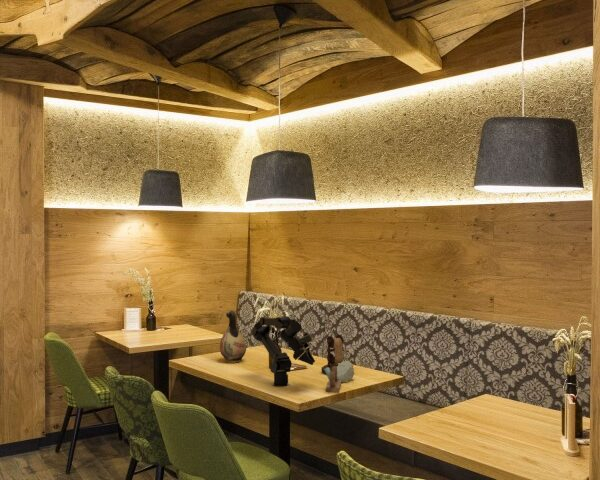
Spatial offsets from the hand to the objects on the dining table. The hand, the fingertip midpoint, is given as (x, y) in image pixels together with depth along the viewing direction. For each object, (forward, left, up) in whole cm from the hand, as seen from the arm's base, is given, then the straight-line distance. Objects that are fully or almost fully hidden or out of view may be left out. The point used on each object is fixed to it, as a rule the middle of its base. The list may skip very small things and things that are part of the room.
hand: (313, 363), depth 293 cm
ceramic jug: (-44, +63, -12) cm, 78 cm away
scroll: (+13, +33, -12) cm, 37 cm away
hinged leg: (+9, -2, -9) cm, 13 cm away
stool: (+9, -2, -12) cm, 15 cm away
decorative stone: (+15, +15, -12) cm, 24 cm away
